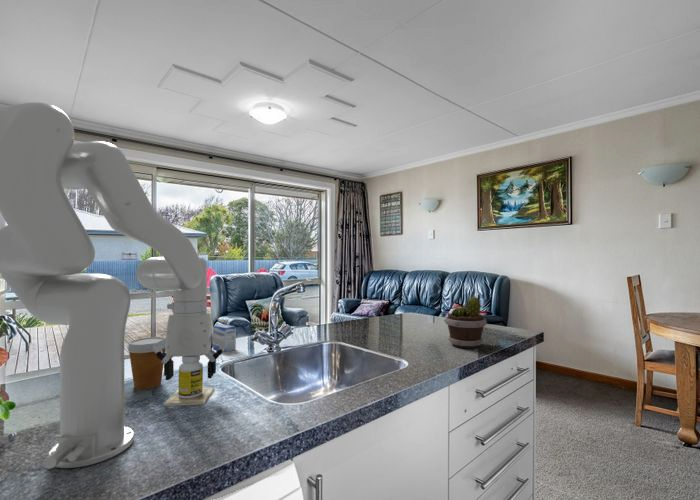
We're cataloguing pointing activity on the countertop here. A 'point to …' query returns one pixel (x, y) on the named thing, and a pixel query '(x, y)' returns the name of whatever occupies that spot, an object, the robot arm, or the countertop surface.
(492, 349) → the countertop surface
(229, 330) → the medicine box
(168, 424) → the countertop surface
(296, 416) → the countertop surface
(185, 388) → the supplement bottle
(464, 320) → the flowerpot
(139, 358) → the disposable coffee cup
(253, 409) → the countertop surface
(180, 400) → the coaster
